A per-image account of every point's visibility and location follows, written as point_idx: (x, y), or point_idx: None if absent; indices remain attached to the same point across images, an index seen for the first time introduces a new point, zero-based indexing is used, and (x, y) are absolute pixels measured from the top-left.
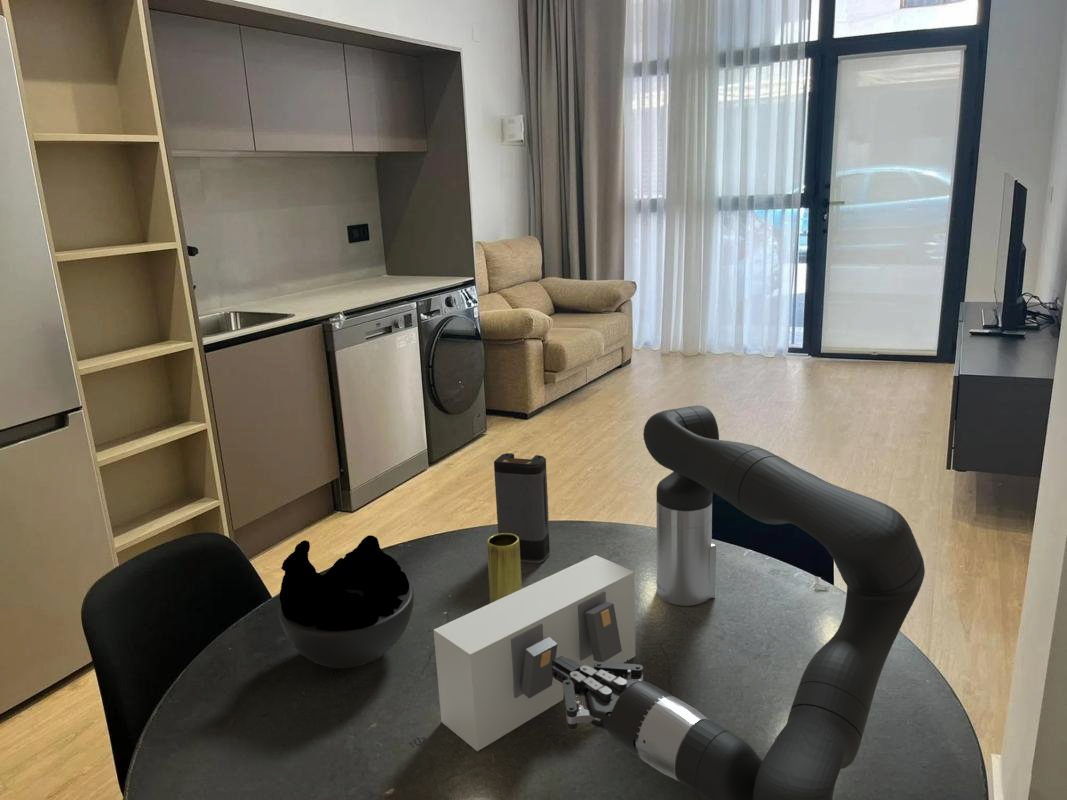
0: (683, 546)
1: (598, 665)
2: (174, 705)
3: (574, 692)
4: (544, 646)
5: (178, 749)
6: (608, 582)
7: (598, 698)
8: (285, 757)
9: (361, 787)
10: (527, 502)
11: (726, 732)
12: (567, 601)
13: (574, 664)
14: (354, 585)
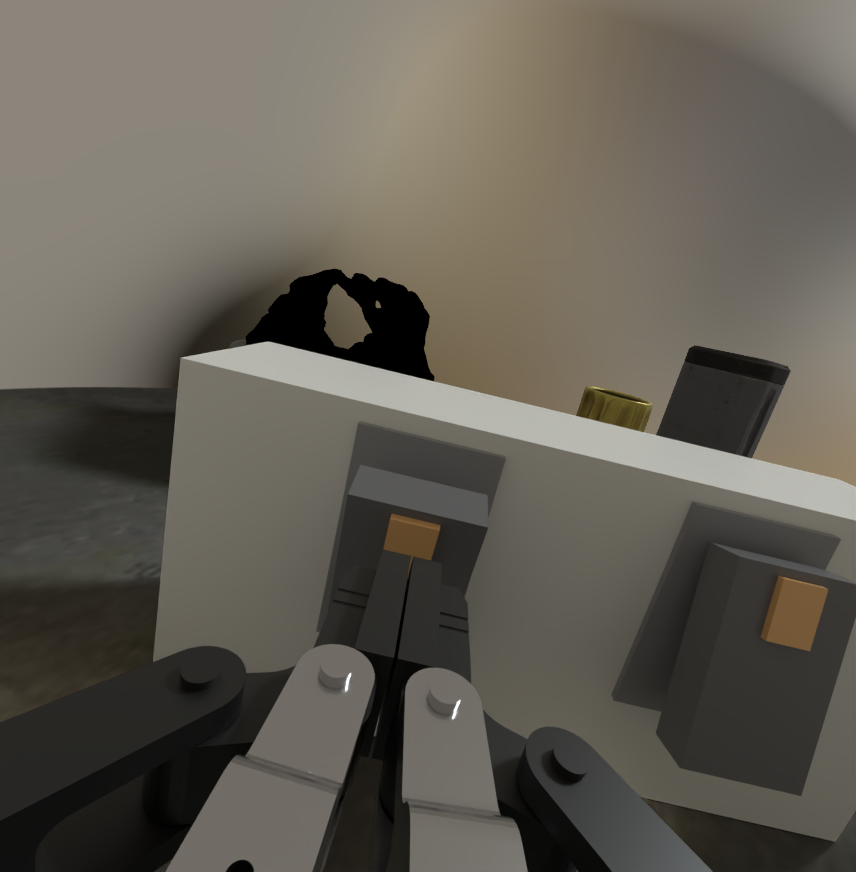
0: None
1: (555, 768)
2: (137, 390)
3: (20, 807)
4: (430, 500)
5: (44, 401)
6: None
7: None
8: (43, 461)
9: None
10: (716, 424)
11: None
12: (657, 467)
13: (431, 631)
14: (369, 363)
